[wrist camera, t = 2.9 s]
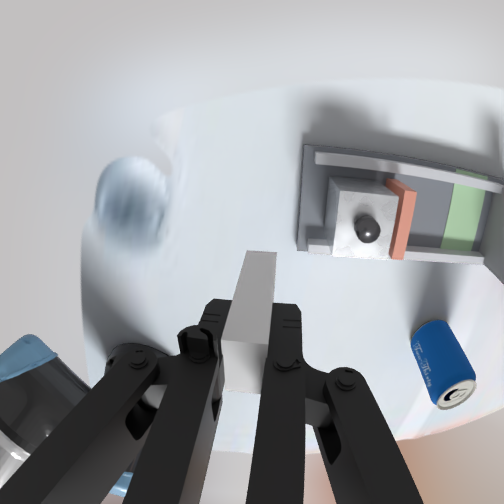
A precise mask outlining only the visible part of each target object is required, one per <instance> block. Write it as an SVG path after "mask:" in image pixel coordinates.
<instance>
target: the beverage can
mask: <svg viewBox="0 0 504 504" xmlns="http://www.w3.org/2000/svg"><path fill="white" fill-rule="evenodd" d="M411 349H412V351H413V353H414V356H415V358H416V361H417V363H418V366H419V368H420V371H421V374H422V376H423V379H424V382H425V384H426V387H427V390H428V393H429V395H430V398H431V401H432V402H433V403H434V404H435V405H437V407H438V409H440V410H448V409H451V408H454V407H456V406H458V405H460V404H462V403H463V402H464V401H466V400H467V399H468V398H469V397H470V396H471V395H472V394H473V393H474V391H475V389H476V382H475V380H476V375H475V372H474V370H473V368H472V366H471V364H470V363H469V361H468V359H467V357H466V355H465V353H464V351H463V350H462V348H461V346H460V344H459V342H458V341H457V339H456V337H455V335H454V334H453V332H452V330H451V329H450V327H449V325H448V324H447V323H446V322H445V321H443V320H434V321H430V322H428V323H426V324H424V325H422V326H421V327H420V328H419V329H418V330H417V331H416V333H415V334H414V335H413V337H412V340H411Z"/></svg>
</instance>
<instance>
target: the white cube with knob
mask: <svg viewBox="0 0 504 504" xmlns="http://www.w3.org/2000/svg"><path fill="white" fill-rule="evenodd" d="M398 200H399V197H398V196H397V195H396V194H395V193H393V192H392V191H391V190H389V189H388V188H387V187H385V186H384V185H383V184H381V183H380V182H379V181H375V180H366V179H357V178H348V177H338V176H329V183H328V194H327V204H326V214H325V223H324V232H325V236H326V239H327V242H328V245H329V248H330V252H331V255H332V256H335V257H351V258H367V259H383V260H387V257H388V252H389V248H390V243H391V238H392V233H393V228H394V223H395V218H396V212H397V206H398Z"/></svg>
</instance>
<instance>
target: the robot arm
mask: <svg viewBox="0 0 504 504" xmlns="http://www.w3.org/2000/svg"><path fill="white" fill-rule="evenodd" d="M276 257H277V252H262V251H247V252H246V256H245V259H244V262H243V266H242V269H241V273H240V276H239V279H238V283H237V286H236V290H235V293H234V296H233V300H223V299H213V300H212V301H210V302H209V303H208V304H207V305H206V307H205V309H204V312H203V315H202V317H201V319H200V322H199V324H198V325H193V326H189V327H186V328H185V329H183V330H181V331H180V332H179V334H178V335H177V337H178V343H179V348H180V354H178V355H176V356H170V357H169V356H167V355H166V354H164V353H162V352H160V351H158V350H156V349H154V348H151V347H148V346H145V345H141V344H134V343H128V344H122V345H119V346H117V347H116V348H115V349H114V350H113V351H112V353H111V354H110V356H109V358H108V360H107V362H106V367H105V373H104V376H103V378H102V379H101V380H100V381H99V382H98V383H97V384H96V385H95V386H94V387H93V388H92V389H91V388H90V387H89V386H88V385H87V384H86V383H85V382H84V381H82V380H81V379H80V378H79V377H78V376H77V375H76V374H75V373H74V372H73V371H72V370H71V369H70V368H69V367H68V366H67V365H66V364H65V363H64V362H62V361H61V359H60V358H59V357H58V354H57V353H55V352H53V351H52V350H51V349H50V348H49V347H48V346H47V345H45V343H43V341H42V340H40V339H39V338H38V337H37V336H35V335H32V334H28V335H24V336H23V337H21V338H20V339H19V340H17V341H16V342H15V343H14V344H12V345H11V346H10V347H9V348H8V349H6V350H5V351H4V352H3V353H2V354H1V355H0V504H100V503H101V502H102V501H103V499H104V498H105V497H106V496H107V494H108V493H112V494H115V495H118V496H122V497H124V500H123V503H122V504H199V502H200V498H201V493H202V489H203V485H204V480H205V476H206V472H207V468H208V463H209V459H210V454H211V450H212V446H213V441H214V437H215V433H216V428H217V424H218V420H219V415H220V411H221V406H222V391H223V387H224V388H225V391H234V392H243V393H253V394H261V397H260V405H259V413H258V421H257V428H256V436H255V443H254V450H253V457H252V464H251V472H250V478H249V485H248V491H247V498H246V504H303V497H304V473H305V472H304V471H305V423H306V424H309V425H312V426H313V429H314V432H315V436H316V439H317V442H318V445H319V449H320V452H321V455H322V458H323V461H324V465H325V468H326V471H327V474H328V477H329V481H330V484H331V487H332V491H333V494H334V497H335V500H336V503H337V504H423V501H422V499H421V496H420V494H419V492H418V489H417V487H416V485H415V483H414V480H413V478H412V476H411V474H410V471H409V469H408V467H407V465H406V463H405V460H404V458H403V456H402V454H401V452H400V450H399V448H398V445H397V443H396V441H395V439H394V437H393V435H392V433H391V431H390V429H389V427H388V425H387V422H386V420H385V418H384V416H383V414H382V412H381V410H380V408H379V406H378V404H377V402H376V400H375V398H374V396H373V394H372V392H371V390H370V388H369V386H368V384H367V382H366V380H365V378H364V377H363V376H362V375H361V373H360V372H358V371H356V370H355V369H352V368H348V367H339V368H336V369H334V370H332V371H331V372H330V373H326V372H322V371H319V370H316V369H314V368H312V367H311V366H309V365H308V364H307V363H306V362H305V360H304V358H303V354H302V322H301V311H300V309H299V308H298V306H297V305H296V304H284V303H273V302H274V288H275V273H276Z"/></svg>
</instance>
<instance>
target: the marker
mask: <svg viewBox="0 0 504 504" xmlns="http://www.w3.org/2000/svg"><path fill="white" fill-rule="evenodd" d="M385 187H387V188H388V189H389V190H391V191H392V192H393V193H395V194H396V195H397V196H398V197H399V200H398V206H397V212H396V218H395V223H394V228H393V233H392V238H391V243H390V248H389V252H388V254H389V256H390V257H391V259H397V260H403V258H404V254H405V250H406V246H407V241H408V237H409V232H410V227H411V222H412V217H413V212H414V207H415V201H416V195H417V192H416V191H414V190H413V189H411V188H410V187H408V186H407V185H405V184H404V183H402V182H400V181H399V180H397V179H390V178H387V179H386V186H385Z"/></svg>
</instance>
